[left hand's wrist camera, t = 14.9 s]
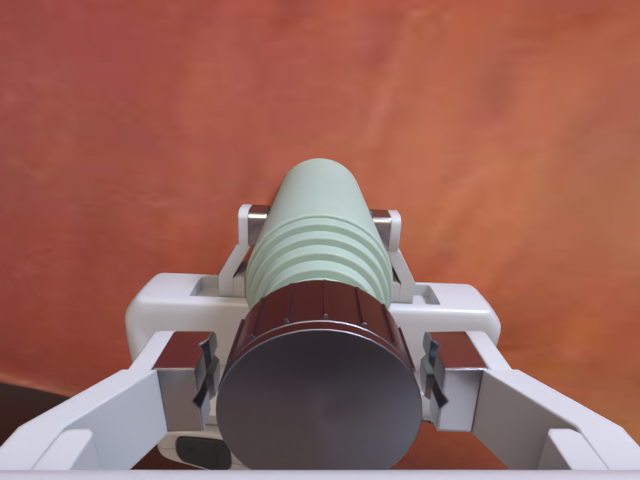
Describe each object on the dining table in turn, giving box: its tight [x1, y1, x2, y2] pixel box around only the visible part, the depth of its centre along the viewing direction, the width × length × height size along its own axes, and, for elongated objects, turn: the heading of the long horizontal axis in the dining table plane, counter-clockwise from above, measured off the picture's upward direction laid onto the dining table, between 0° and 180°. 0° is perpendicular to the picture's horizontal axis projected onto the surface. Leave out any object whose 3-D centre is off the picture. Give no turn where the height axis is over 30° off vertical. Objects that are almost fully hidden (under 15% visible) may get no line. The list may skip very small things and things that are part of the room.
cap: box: [216, 279, 422, 470], centre depth 9 cm, size 4×4×2 cm
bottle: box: [245, 159, 393, 310], centre depth 17 cm, size 5×5×18 cm
